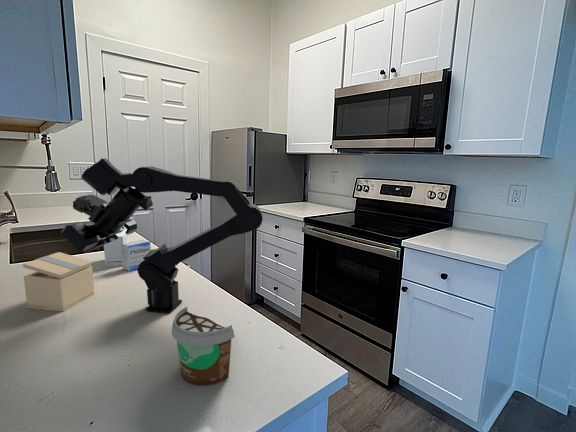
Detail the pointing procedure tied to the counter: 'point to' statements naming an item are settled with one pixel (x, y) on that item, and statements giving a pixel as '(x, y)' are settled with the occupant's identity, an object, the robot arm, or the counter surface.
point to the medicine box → (134, 254)
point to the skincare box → (115, 250)
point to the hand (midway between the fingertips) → (84, 251)
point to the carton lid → (57, 264)
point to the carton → (58, 289)
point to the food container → (202, 348)
